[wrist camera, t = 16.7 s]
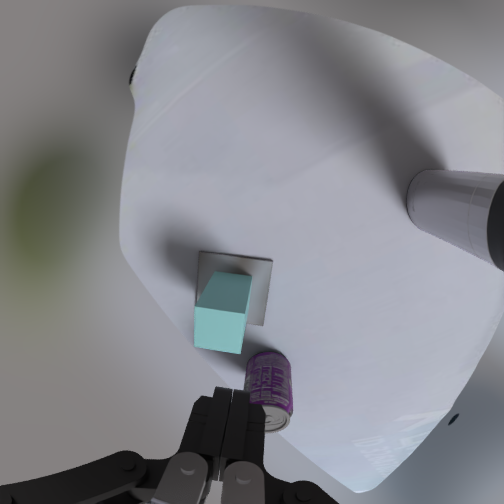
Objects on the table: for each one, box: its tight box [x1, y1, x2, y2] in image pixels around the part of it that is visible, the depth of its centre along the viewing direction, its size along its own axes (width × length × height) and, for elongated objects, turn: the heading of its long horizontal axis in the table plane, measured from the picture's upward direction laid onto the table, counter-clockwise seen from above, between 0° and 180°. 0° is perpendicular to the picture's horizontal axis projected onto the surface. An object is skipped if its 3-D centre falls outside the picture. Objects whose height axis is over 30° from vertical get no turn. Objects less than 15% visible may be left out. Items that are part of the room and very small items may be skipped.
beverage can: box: [243, 352, 293, 433], centre depth 36 cm, size 7×7×12 cm
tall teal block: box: [194, 271, 252, 354], centre depth 33 cm, size 5×5×11 cm
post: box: [197, 251, 273, 326], centre depth 34 cm, size 10×10×10 cm
